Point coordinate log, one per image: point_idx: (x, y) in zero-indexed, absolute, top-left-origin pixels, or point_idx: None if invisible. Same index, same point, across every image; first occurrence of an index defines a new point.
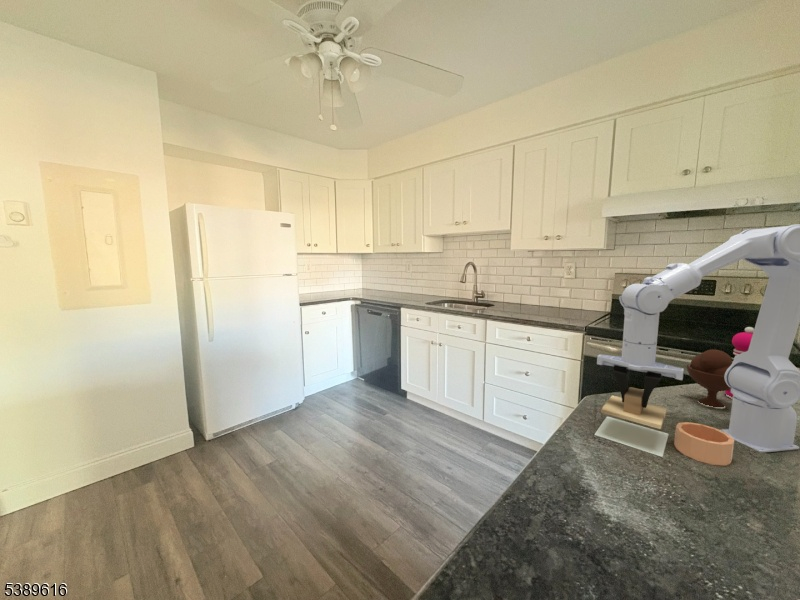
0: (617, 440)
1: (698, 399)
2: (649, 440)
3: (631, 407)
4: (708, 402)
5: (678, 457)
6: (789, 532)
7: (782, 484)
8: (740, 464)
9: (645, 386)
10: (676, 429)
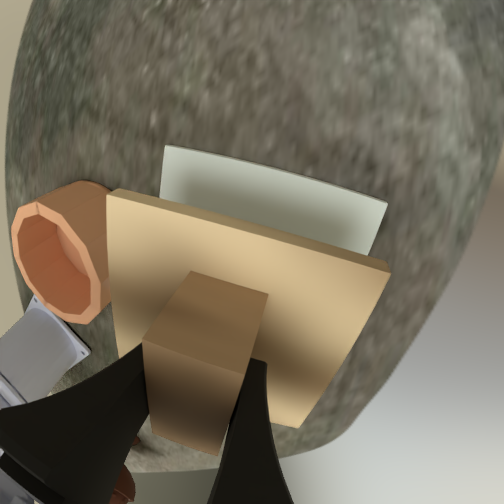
0: (303, 193)
1: (136, 443)
2: None
3: (220, 305)
4: None
5: (131, 184)
6: (29, 17)
7: (11, 184)
8: None
9: (88, 420)
10: (103, 272)
